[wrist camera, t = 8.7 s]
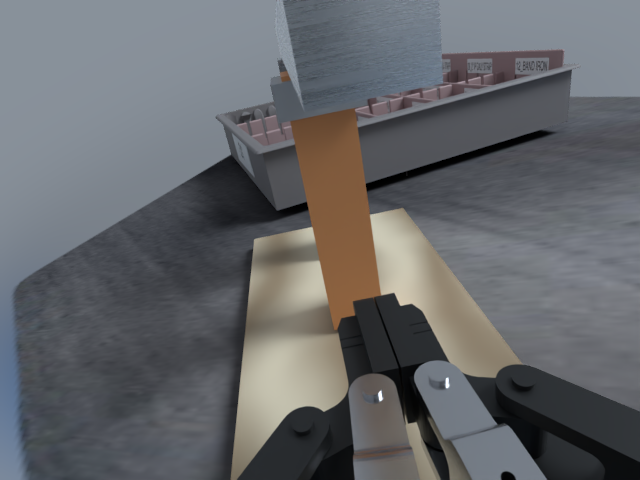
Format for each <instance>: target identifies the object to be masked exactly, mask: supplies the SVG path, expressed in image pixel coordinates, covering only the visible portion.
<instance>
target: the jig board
mask: <svg viewBox="0 0 640 480" xmlns="http://www.w3.org/2000/svg"><path fill="white" fill-rule="evenodd" d="M370 219H371V226H372V234H373V241H374V248H375V255H376V262H377V269H378V276H379V284H380V291H381V295H385V294H390V293H395V295H396V297H397V300H398V302H399V304H400V306H403V305H408V304H413V305H415V306H416V307H417V308H419V309H420V310H422V311H423V313H424V315H425V317H426V319H427V321H428V323H429V324H430V326H431V328H432V331H433V332H434V334H435V336H436V338H437V340H438V341H439V343H440V345H441V347H442V349H443V351H444V353H445V355H446V356H447V358H448V360H449V362H450V363H451V364H453V365H455V366H457V367H458V368H459V369H460V370H461V372H462V373H464V374H467V375H471V376H476V377H491V378H496V375H497V373H498V371H499V370H500V369H502V368H503V367H506V366H508V365H514V364H522V363H521V361H520V360H519V359H518V358H517V356H516V355H515V354H514V352H513V351H512V350H511V348H510V347H509V346H508V345H507V343H506V342H505V341H504V339H503V338H502V337H501V335H500V334H499V333H498V331H497V330H496V329H495V328H494V326H493V325H492V324H491V322H490V321H489V320H488V318H487V317H486V316H485V315H484V313H483V312H482V311H481V309H480V308H479V307H478V305H477V304H476V303H475V301H474V300H473V299H472V298H471V296H470V295H469V294H468V292H467V291H466V290H465V288H464V287H463V286H462V285H461V283H460V282H459V281H458V279H457V278H456V277H455V275H454V274H453V273H452V271H451V270H450V269H449V268H448V266H447V265H446V264H445V262H444V261H443V260H442V258H441V257H440V256H439V255H438V253H437V252H436V251H435V249H434V248H433V247H432V245H431V244H430V243H429V241H428V240H427V239H426V238H425V236H424V235H423V234H422V232H421V231H420V230H419V228H418V227H417V226H416V225H415V223H414V222H413V221H412V219H411V218H410V217H409V215H408V214H407V213H406V211H405V210H404V209H403V208H401V209H396V210H391V211H386V212H382V213H377V214H372V215H370ZM522 365H523V364H522ZM347 391H348V378H347V373H346V368H345V363H344V359H343V354H342V349H341V344H340V339H339V334H338V329H337V330H334V327H333V322H332V317H331V313H330V308H329V303H328V298H327V294H326V289H325V284H324V280H323V275H322V270H321V265H320V261H319V256H318V251H317V246H316V242H315V237H314V232H313V227H310V228H305V229H301V230H296V231H291V232H286V233H281V234H277V235H272V236H267V237H262V238H258V239H254V248H253V258H252V268H251V278H250V288H249V298H248V308H247V318H246V329H245V339H244V349H243V359H242V369H241V379H240V389H239V399H238V409H237V419H236V430H235V440H234V450H233V460H232V470H231V480H237V479H238V477H239V476H240V475H241V473H242V472H243V471H244V469H245V468H246V467H247V466H248V464H249V463H250V462H251V460H252V459H253V458H254V456H255V455H256V454H257V453H258V451H259V450H260V449H261V447H262V446H263V445H264V444H265V442H266V441H267V440H268V438H269V437H270V436H271V434H272V433H273V432H274V431H275V429H276V428H277V427H278V425H279V424H280V423H281V422H282V420H283V419H284V418H285V417H286V415H288V414H289V413H290V412H291V411H293V410H295V409H297V408H300V407H305V406H312V407H317V408H319V409H321V410H322V411H323V412H324V411H326V410H328V409H330V408H332V407H334V406H335V405H337V404H338V403H339V402H341V400H342V399H343V398H344V397H345V395H346V393H347ZM405 421H406V425H405V426H406V430H407V435H408V439H409V443H410V447H412V449H413V453H414V456H415V461H416V465H417V469H418V473H419V477H420V480H437V479H436V477H435V475H434V473H433V470H432V468H431V466H430V464H429V461H428V459H427V457H426V455H425V452H424V450H423V448H422V445H421V437H420V431H419V428H418V425H417V423H416V422H415V423H410V424H408V422H407V419H406V416H405Z"/></svg>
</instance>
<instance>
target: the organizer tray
mask: <svg viewBox="0 0 640 480" xmlns="http://www.w3.org/2000/svg"><path fill="white" fill-rule="evenodd" d="M563 62H564V49H557V50H529V51H501V52H473V53H446V54H442V70H443V84H438V85H433V86H428V87H424V88H419V89H414V90H409V91H404V92H399V93H395V94H390V95H385V96H380V97H375V98H370V99H367V104H368V105H366V106H361V107H356V108H355V112H356V119H357V126H358V133H359V141H360V148H361V155H362V162H363V169H364V176H365V183H369V182H372V181H376V180H379V179H382V178H385V177H389V176H392V175H395V174H398V173H402V172H405V171H406V174H407V171H408V170H411V169H415V168H418V167H421V166H424V165H428V164H431V163H434V162H437V161H441V160H444V159H447V158H450V157H454V156H457V155H460V154H463V153H467V152H470V151H473V150H476V149H480V148H483V147H486V146H490V145H493V144H496V143H499V142H503V141H506V140H509V139H512V138H516V137H519V136H522V135H525V134H529V133H532V132H535V131H538V130H542V129H545V128H548V127H551V126H555V125H558V124H561V123H564V122H567V120H568V108H569V97H570V85H571V71H572V69H576V68H579V67H581V66H580V65H579V64H563ZM216 119H218V120H219V121H220V122H221V123H222V124H223V126H224V130H225V133H226V137H227V140H228V144H229V147H230V151H231V154H232V156H233V157H234V158H235V159H236V161H237V162H238V163H239V164H240V166H241V167H242V168H243V169H244V171H245V172H246V173H247V174H248V176H249V177H250V178H251V179H252V180H253V182H254V183H255V184H256V185H257V187H258V188H259V189H260V190H261V192H262V193H263V194H264V195H265V197H266V198H267V199H268V200H269V201H270V203H271V204H272V205H273V206H274V208H275V209H276V210H277V211H278V210H281V209H284V208H288V207H291V206H294V205H297V204H301V203H304V202H307V199H306V194H305V190H304V185H303V180H302V175H301V171H300V166H299V161H298V156H297V152H296V147H295V142H294V137H293V133H292V128H291V123H290V121H288V122H284V123H279V122H278V117H277V113H276V108H275V104H274V101H273V102H270V103H265V104H261V105H257V106H253V107H249V108H244V109H240V110H236V111H233V112H228V113H224V114H220V115H217V116H216Z"/></svg>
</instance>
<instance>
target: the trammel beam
mask: <svg viewBox="0 0 640 480" xmlns="http://www.w3.org/2000/svg"><path fill="white" fill-rule="evenodd" d="M440 27H441V26H440V5H439V0H276V15H275V30H276V35H277V40H278V44H279V49H280V54H281V58H278V59H277V60H278V65H279V69H280V72H284V71H287V72H288V74H289V77H290V79H291V81H292V84H293V86H294V88H295V91H296V93H297V96H298V98H299V100H300V103H301V105H302V107H303V110H304V112H308V111H312V110H317V109H322V108H327V107H332V106H337V105H341V104H346V103H351V102H356V101H361V100H366V99H370V98H375V97H380V96H385V95H390V94H395V93H399V92H404V91H409V90H414V89H419V88H424V87H428V86H433V85H438V84H443V70H442V49H441V28H440Z"/></svg>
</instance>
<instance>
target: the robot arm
mask: <svg viewBox="0 0 640 480" xmlns="http://www.w3.org/2000/svg"><path fill="white" fill-rule="evenodd" d="M353 307H354V313H355V315H354V316H349V317H345V318H341V320H340V323H339V326H338V328H337V329H338V334H339V339H340V344H341V349H342V354H343V359H344V363H345V368H346V373H347V378H348V391H347V393H346V395H345V397H344V398H343V399H342V400H341V402H339V403H338V404H337V405H335V406H334V407H332V408H330V409H328V410H326V411H324V412H323V411H322V410H321V409H319V408H317V407H312V406H305V407H300V408H297V409H295V410H293V411H291V412H290V413H289V414H288V415H286V417H285V418H284V419H283V420H282V422H281V423H280V424H279V425H278V427H277V428H276V429H275V431H274V432H273V433H272V434H271V436H270V437H269V438H268V440H267V441H266V442H265V444H264V445H263V446H262V447H261V449H260V450H259V451H258V453H257V454H256V455H255V456H254V458H253V459H252V460H251V462H250V463H249V464H248V466H247V467H246V468H245V469H244V471H243V472H242V473H241V475H240V476H239V477H238V479H237V480H420V477H419V473H418V469H417V465H416V461H415V456H414V453H413V449H412V447H410V443H409V439H408V435H407V430H406V426H405V425H406V421H405V416H406V419H407V422H408V424H410V423H415V422H416V423H417V425H418V428H419V431H420V437H421V445H422V448H423V450H424V452H425V455H426V457H427V459H428V461H429V464H430V466H431V468H432V470H433V473H434V475H435V477H436V479H437V480H640V412H639V411H637V410H634V409H632V408H629V407H627V406H625V405H622V404H620V403H617V402H615V401H613V400H610V399H608V398H606V397H603V396H601V395H598V394H596V393H594V392H591V391H589V390H586V389H584V388H582V387H579V386H577V385H574V384H572V383H570V382H567V381H565V380H563V379H560V378H558V377H555V376H553V375H551V374H548V373H546V372H543V371H541V370H539V369H536V368H534V367H531V366H527V365H522V364H514V365H508V366H506V367H503V368H502V369H500V370H499V371H498V373H497V375H496V378H491V377H476V376H471V375H467V374H464V373H462V372H461V370H460V369H459V368H458V367H457V366H455V365H453V364H451V363H450V362H449V360H448V358H447V356H446V355H445V353H444V351H443V349H442V347H441V345H440V343H439V341H438V340H437V338H436V336H435V334H434V332H433V331H432V328H431V326H430V324H429V323H428V321H427V319H426V317H425V315H424V313H423V311H422V310H420V309H419V308H417V307H416V306H415V305H413V304H408V305H403V306H400V304H399V302H398V300H397V297H396V295H395V293H390V294H385V295H380V296H375V297H374V299H373V297H371V298H366V299H361V300H356V301H353Z"/></svg>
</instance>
